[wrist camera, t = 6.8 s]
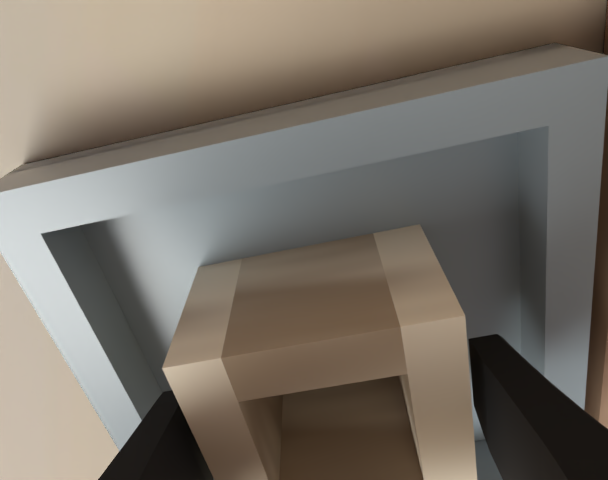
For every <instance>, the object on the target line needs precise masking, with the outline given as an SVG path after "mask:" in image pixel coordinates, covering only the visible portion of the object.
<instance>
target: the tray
mask: <svg viewBox="0 0 608 480" xmlns="http://www.w3.org/2000/svg"><path fill="white" fill-rule="evenodd" d="M607 90H608V55H605V54H601V53H596V52H592V51H588V50H583V49H579V48H575V47H571V46H566V45H562V44H558V43H552V44H548V45H544V46H539V47H535V48H530V49H526V50H522V51H517V52H513V53H509V54H504V55H500V56H495V57H491V58H487V59H482V60H478V61H474V62H469V63H465V64H461V65H456V66H452V67H447V68H443V69H439V70H434V71H430V72H426V73H421V74H417V75H412V76H408V77H404V78H399V79H395V80H391V81H386V82H382V83H377V84H373V85H369V86H364V87H360V88H356V89H351V90H347V91H343V92H338V93H334V94H329V95H325V96H321V97H316V98H312V99H308V100H303V101H299V102H294V103H290V104H286V105H281V106H277V107H273V108H268V109H264V110H260V111H255V112H251V113H246V114H242V115H238V116H233V117H229V118H225V119H220V120H216V121H211V122H207V123H203V124H198V125H194V126H190V127H185V128H181V129H176V130H172V131H168V132H163V133H159V134H155V135H150V136H146V137H142V138H137V139H133V140H128V141H124V142H120V143H115V144H111V145H107V146H102V147H98V148H93V149H89V150H85V151H80V152H76V153H72V154H67V155H63V156H59V157H54V158H50V159H45V160H41V161H37V162H32V163H28V164H24V165H21V166H19V167H18V168H16V169H14V170H13V171H11V172H10V173H8V174H7V175H5V176H4V177H2V178H1V179H0V252H1V254H2V256H3V257H4V259H5V261H6V262H7V264H8V266H9V267H10V269H11V271H12V272H13V274H14V276H15V277H16V279H17V281H18V282H19V284H20V286H21V287H22V289H23V291H24V293H25V294H26V296H27V298H28V299H29V301H30V303H31V304H32V306H33V308H34V309H35V311H36V313H37V314H38V316H39V318H40V319H41V321H42V323H43V324H44V326H45V328H46V329H47V331H48V333H49V334H50V336H51V338H52V339H53V341H54V343H55V344H56V346H57V348H58V349H59V351H60V353H61V354H62V356H63V358H64V359H65V361H66V363H67V364H68V366H69V368H70V369H71V371H72V373H73V374H74V376H75V378H76V379H77V381H78V383H79V384H80V386H81V388H82V389H83V391H84V393H85V394H86V396H87V398H88V399H89V401H90V403H91V404H92V406H93V408H94V409H95V411H96V413H97V414H98V416H99V418H100V419H101V421H102V423H103V424H104V426H105V428H106V429H107V431H108V433H109V434H110V436H111V438H112V439H113V441H114V443H115V444H116V446H117V448H118V449H119V451H120V450H121V449H122V447H123V446H124V445H125V443H126V442H127V441H128V439H129V438H130V436H131V435H132V434H133V432H134V431H135V430H136V428H137V427H138V425H139V424H140V423H141V421H142V420H143V418H144V417H145V416H146V414H147V413H148V412H149V410H150V409H151V407H152V406H153V405H154V403H155V402H156V401H157V399H158V398H159V397H160V395H161V394H162V393H163V392H165V391H171V390H172V389H171V387H170V384H169V382H168V380H167V378H166V376H165V374H164V372H163V370H162V367H163V364H164V361H165V359H166V356H167V353H168V350H169V347H170V345H171V342H172V339H173V336H174V334H175V331H176V328H177V325H178V322H179V320H180V317H181V314H182V311H183V309H184V306H185V303H186V300H187V297H188V295H189V292H190V289H191V286H192V283H193V281H194V278H195V275H196V272H197V270H198V267H201V266H207V265H212V264H217V263H222V262H227V261H232V260H238V259H243V258H248V257H253V256H258V255H263V254H268V253H274V252H279V251H284V250H289V249H294V248H299V247H305V246H310V245H315V244H320V243H325V242H330V241H336V240H341V239H346V238H351V237H356V236H361V235H367V234H372V233H377V232H382V231H387V230H392V229H398V228H403V227H408V226H413V225H418V224H420V226H421V228H422V230H423V232H424V234H425V236H426V238H427V240H428V242H429V244H430V246H431V248H432V250H433V252H434V254H435V256H436V258H437V260H438V262H439V264H440V266H441V268H442V270H443V272H444V274H445V276H446V278H447V280H448V282H449V284H450V286H451V288H452V290H453V292H454V294H455V296H456V298H457V300H458V302H459V304H460V306H461V308H462V310H463V312H464V314H465V319H466V333H467V346H468V360H469V373H470V387H471V401H472V414H473V428H474V442H475V455H476V469H477V480H503V479H502V477H501V475H500V473H499V470H498V468H497V466H496V464H495V462H494V460H493V458H492V455H491V453H490V451H489V448H488V445H487V443H486V440H485V437H484V434H483V431H482V428H481V425H480V422H479V420H478V417H477V414H476V411H475V408H474V402H473V390H472V377H471V364H470V352H469V339H470V338H476V337H481V336H487V335H493V334H498V335H500V336H501V337H503V338H504V339H505V340H506V341H507V342H508V343H509V344H510V345H511V346H512V347H513V348H514V349H515V350H516V351H517V352H518V353H519V354H520V355H521V356H522V357H523V358H525V359H526V360H527V361H528V362H529V363H530V364H531V365H532V366H533V367H534V368H535V369H536V370H538V371H539V372H540V373H541V374H542V375H543V376H544V377H545V378H546V379H548V380H549V381H550V382H551V383H552V384H553V385H555V386H556V387H557V388H558V389H559V390H560V391H562V392H563V393H564V394H565V395H566V396H568V397H569V398H570V399H571V400H572V401H574V402H575V403H576V404H577V405H578V406H580V407H581V408H582V409H583V410H584V407H585V394H586V380H587V366H588V352H589V338H590V325H591V311H592V297H593V283H594V269H595V256H596V242H597V228H598V214H599V200H600V186H601V173H602V159H603V145H604V131H605V117H606V104H607ZM213 480H214V478H213Z"/></svg>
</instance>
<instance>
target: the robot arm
mask: <svg viewBox="0 0 608 480" xmlns="http://www.w3.org/2000/svg"><path fill="white" fill-rule="evenodd" d="M469 352H470V364H471V377H472V390H473V402H474V408H475V411H476V414H477V417H478V420H479V422H480V425H481V428H482V431H483V434H484V437H485V440H486V443H487V445H488V448H489V451H490V453H491V455H492V458H493V460H494V462H495V464H496V466H497V468H498V470H499V473H500V475H501V477H502V479H503V480H608V429H607V428H606V427H605V426H603V425H602V424H601V423H599V422H598V421H597V420H596V419H594V418H593V417H592V416H591V415H589V414H588V413H587V412H586V411H584V410H583V409H582V408H581V407H580V406H578V405H577V404H576V403H575V402H574V401H572V400H571V399H570V398H569V397H568V396H566V395H565V394H564V393H563V392H562V391H560V390H559V389H558V388H557V387H556V386H555V385H553V384H552V383H551V382H550V381H549V380H548V379H546V378H545V377H544V376H543V375H542V374H541V373H540V372H539V371H538V370H536V369H535V368H534V367H533V366H532V365H531V364H530V363H529V362H528V361H527V360H526V359H525V358H523V357H522V356H521V355H520V354H519V353H518V352H517V351H516V350H515V349H514V348H513V347H512V346H511V345H510V344H509V343H508V342H507V341H506V340H505V339H504V338H503V337H501V336H500V335H498V334H493V335H487V336H481V337H476V338H470V339H469ZM98 480H213V476H212V473H211V471H210V469H209V467H208V465H207V463H206V461H205V459H204V456H203V454H202V452H201V450H200V448H199V446H198V444H197V442H196V439H195V437H194V435H193V433H192V431H191V429H190V427H189V425H188V423H187V420H186V418H185V416H184V414H183V412H182V410H181V408H180V406H179V403H178V401H177V399H176V397H175V395H174V393H173V391H172V390H171V391H165V392H163V393H162V394H161V395H160V397H159V398H158V399H157V401H156V402H155V403H154V405H153V406H152V407H151V409H150V410H149V412H148V413H147V414H146V416H145V417H144V418H143V420H142V421H141V423H140V424H139V425H138V427H137V428H136V430H135V431H134V432H133V434H132V435H131V436H130V438H129V439H128V441H127V442H126V443H125V445H124V446H123V447H122V449H121V450H120V451H119V453H118V454H117V455H116V457H115V458H114V459H113V461H112V462H111V463H110V465H109V466H108V467H107V469H106V470H105V471H104V473H103V474H102V475H101V477H100V478H99V479H98Z"/></svg>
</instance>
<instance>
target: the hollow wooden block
mask: <svg viewBox="0 0 608 480" xmlns="http://www.w3.org/2000/svg"><path fill="white" fill-rule="evenodd" d="M162 370H163V372H164V374H165V376H166V378H167V380H168V382H169V384H170V387H171V389H172V391H173V393H174V395H175V397H176V399H177V401H178V403H179V406H180V408H181V410H182V412H183V414H184V416H185V418H186V420H187V423H188V425H189V427H190V429H191V431H192V433H193V435H194V437H195V439H196V442H197V444H198V446H199V448H200V450H201V452H202V454H203V456H204V459H205V461H206V463H207V465H208V467H209V469H210V471H211V473H212V476H213V478H214V480H477V469H476V455H475V442H474V428H473V414H472V401H471V387H470V373H469V360H468V346H467V333H466V319H465V314H464V312H463V310H462V308H461V306H460V304H459V302H458V300H457V298H456V296H455V294H454V292H453V290H452V288H451V286H450V284H449V282H448V280H447V278H446V276H445V274H444V272H443V270H442V268H441V266H440V264H439V262H438V260H437V258H436V256H435V254H434V252H433V250H432V248H431V246H430V244H429V242H428V240H427V238H426V236H425V234H424V232H423V230H422V228H421V226H420V224H418V225H413V226H408V227H403V228H398V229H392V230H387V231H382V232H377V233H372V234H367V235H361V236H356V237H351V238H346V239H341V240H336V241H330V242H325V243H320V244H315V245H310V246H305V247H299V248H294V249H289V250H284V251H279V252H274V253H268V254H263V255H258V256H253V257H248V258H243V259H238V260H232V261H227V262H222V263H217V264H212V265H207V266H201V267H198V270H197V272H196V275H195V278H194V281H193V283H192V286H191V289H190V292H189V295H188V297H187V300H186V303H185V306H184V309H183V311H182V314H181V317H180V320H179V322H178V325H177V328H176V331H175V334H174V336H173V339H172V342H171V345H170V347H169V350H168V353H167V356H166V359H165V361H164V364H163V367H162Z"/></svg>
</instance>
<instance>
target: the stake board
mask: <svg viewBox="0 0 608 480" xmlns="http://www.w3.org/2000/svg"><path fill="white" fill-rule="evenodd" d="M604 54H605V55H608V0H607V11H606V26H605V41H604ZM584 411H586V412H587V413H588V414H589V415H591V416H592V417H593V418H594V419H596V420H597V421H598V422H599V423H601V424H602V425H603V426H605V427H606V428H607V429H608V90H607V104H606V117H605V131H604V145H603V159H602V173H601V186H600V200H599V214H598V228H597V242H596V256H595V269H594V283H593V297H592V311H591V325H590V338H589V352H588V366H587V380H586V394H585V407H584Z"/></svg>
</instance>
